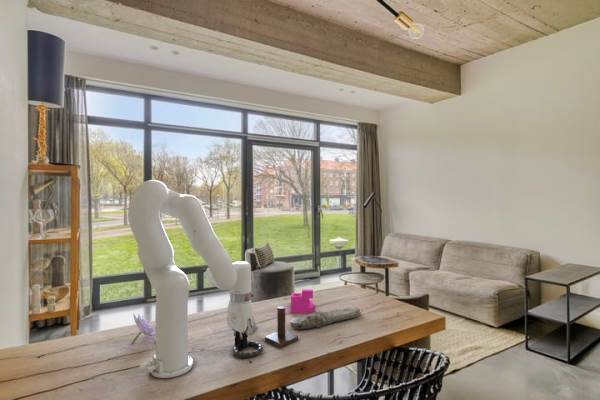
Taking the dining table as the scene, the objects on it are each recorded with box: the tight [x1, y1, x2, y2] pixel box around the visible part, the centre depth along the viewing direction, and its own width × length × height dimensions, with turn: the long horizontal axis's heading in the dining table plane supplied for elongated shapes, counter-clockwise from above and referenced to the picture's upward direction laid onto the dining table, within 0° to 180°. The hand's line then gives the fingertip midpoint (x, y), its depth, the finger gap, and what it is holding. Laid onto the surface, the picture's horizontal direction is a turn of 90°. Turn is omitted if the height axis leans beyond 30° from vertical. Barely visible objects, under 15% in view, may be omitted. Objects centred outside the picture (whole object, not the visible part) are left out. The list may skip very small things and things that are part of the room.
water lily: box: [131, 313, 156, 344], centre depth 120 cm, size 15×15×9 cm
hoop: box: [232, 340, 264, 359], centre depth 112 cm, size 10×10×2 cm
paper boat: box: [252, 315, 257, 333], centre depth 131 cm, size 12×6×9 cm
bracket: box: [290, 288, 314, 314], centre depth 155 cm, size 12×10×10 cm
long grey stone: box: [289, 307, 362, 330], centre depth 138 cm, size 35×5×10 cm
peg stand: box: [264, 305, 299, 349], centre depth 121 cm, size 9×9×12 cm
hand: (240, 347), depth 115 cm, fingers closed on hoop, 2 cm apart
